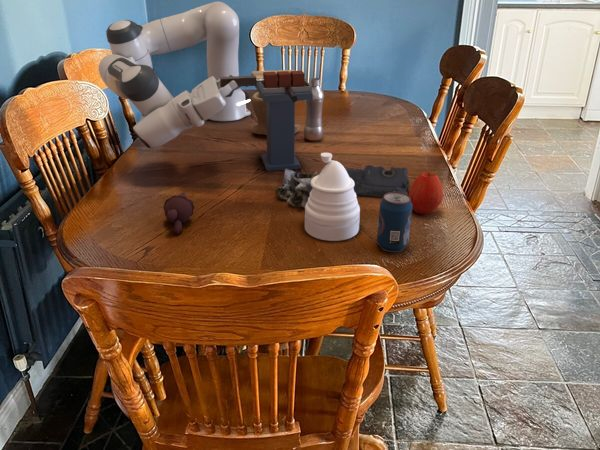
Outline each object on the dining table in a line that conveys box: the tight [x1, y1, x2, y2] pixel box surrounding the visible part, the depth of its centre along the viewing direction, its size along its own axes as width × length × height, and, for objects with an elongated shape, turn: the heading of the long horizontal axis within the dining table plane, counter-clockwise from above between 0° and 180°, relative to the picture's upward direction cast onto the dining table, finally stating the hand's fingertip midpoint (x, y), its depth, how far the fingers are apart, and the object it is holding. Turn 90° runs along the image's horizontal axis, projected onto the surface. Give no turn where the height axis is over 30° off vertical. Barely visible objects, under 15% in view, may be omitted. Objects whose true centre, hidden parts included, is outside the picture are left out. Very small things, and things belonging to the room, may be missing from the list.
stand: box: [250, 73, 313, 172], centre depth 164 cm, size 24×13×24 cm, turn 12°
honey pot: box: [304, 152, 361, 242], centre depth 130 cm, size 13×13×18 cm
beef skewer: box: [220, 70, 307, 88], centre depth 152 cm, size 4×23×4 cm, turn 102°
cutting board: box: [251, 69, 297, 79], centre depth 164 cm, size 10×13×1 cm
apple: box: [408, 171, 444, 216], centre depth 140 cm, size 8×8×11 cm
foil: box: [275, 169, 319, 208], centre depth 147 cm, size 12×11×15 cm
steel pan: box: [257, 78, 312, 103], centre depth 150 cm, size 20×13×2 cm, turn 12°
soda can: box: [376, 192, 413, 253], centre depth 124 cm, size 7×7×12 cm
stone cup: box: [251, 91, 301, 136], centre depth 189 cm, size 15×12×15 cm
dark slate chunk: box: [345, 164, 410, 198], centre depth 156 cm, size 15×22×5 cm
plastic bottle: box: [303, 77, 325, 141], centre depth 184 cm, size 6×7×20 cm
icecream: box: [162, 192, 195, 235], centre depth 135 cm, size 7×7×15 cm
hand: (234, 79), depth 150 cm, fingers open, 5 cm apart
